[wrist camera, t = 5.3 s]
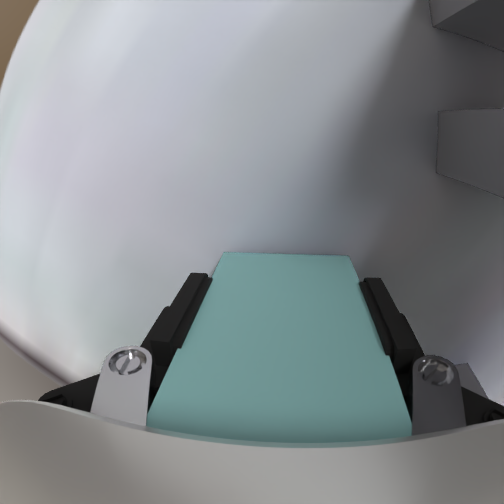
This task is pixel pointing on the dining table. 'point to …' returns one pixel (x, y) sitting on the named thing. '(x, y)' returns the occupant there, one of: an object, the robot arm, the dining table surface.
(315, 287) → the teal tile
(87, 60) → the dining table surface
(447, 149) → the tile
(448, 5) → the tile
